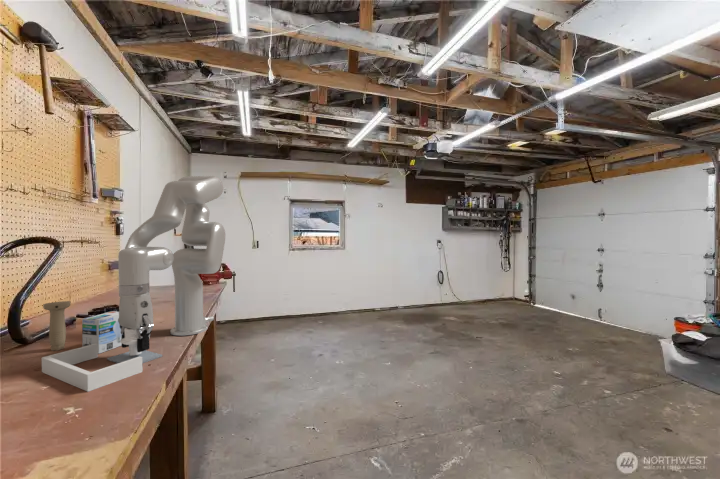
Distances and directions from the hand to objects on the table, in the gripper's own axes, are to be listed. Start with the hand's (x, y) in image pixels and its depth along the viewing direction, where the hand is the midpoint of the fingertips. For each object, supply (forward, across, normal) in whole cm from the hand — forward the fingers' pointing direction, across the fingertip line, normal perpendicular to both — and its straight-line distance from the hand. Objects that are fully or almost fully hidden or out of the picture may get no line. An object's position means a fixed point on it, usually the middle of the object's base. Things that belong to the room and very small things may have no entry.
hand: (135, 348), depth 98 cm
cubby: (+3, 0, +11) cm, 11 cm away
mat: (+3, 0, 0) cm, 3 cm away
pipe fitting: (+2, 0, 0) cm, 2 cm away
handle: (+3, +30, +7) cm, 31 cm away
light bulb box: (+3, +18, -1) cm, 18 cm away
